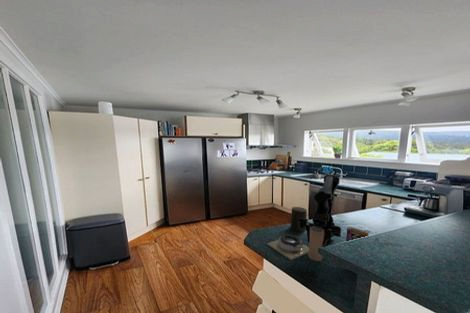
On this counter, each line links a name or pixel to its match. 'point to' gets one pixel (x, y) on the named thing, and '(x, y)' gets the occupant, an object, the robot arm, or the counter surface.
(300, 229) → the pillar candle
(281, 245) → the motor mount
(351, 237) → the candy box
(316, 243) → the beige cylinder
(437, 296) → the counter surface
